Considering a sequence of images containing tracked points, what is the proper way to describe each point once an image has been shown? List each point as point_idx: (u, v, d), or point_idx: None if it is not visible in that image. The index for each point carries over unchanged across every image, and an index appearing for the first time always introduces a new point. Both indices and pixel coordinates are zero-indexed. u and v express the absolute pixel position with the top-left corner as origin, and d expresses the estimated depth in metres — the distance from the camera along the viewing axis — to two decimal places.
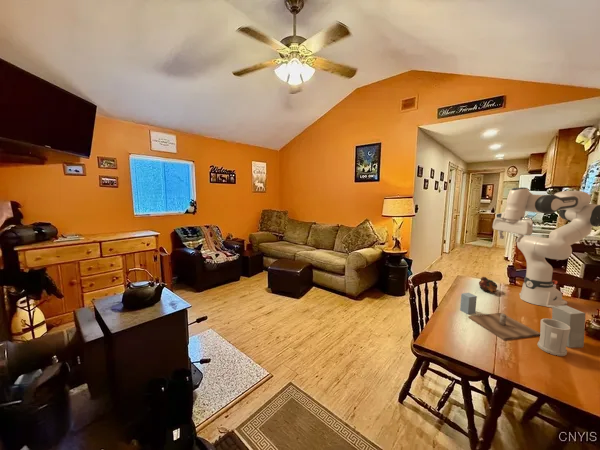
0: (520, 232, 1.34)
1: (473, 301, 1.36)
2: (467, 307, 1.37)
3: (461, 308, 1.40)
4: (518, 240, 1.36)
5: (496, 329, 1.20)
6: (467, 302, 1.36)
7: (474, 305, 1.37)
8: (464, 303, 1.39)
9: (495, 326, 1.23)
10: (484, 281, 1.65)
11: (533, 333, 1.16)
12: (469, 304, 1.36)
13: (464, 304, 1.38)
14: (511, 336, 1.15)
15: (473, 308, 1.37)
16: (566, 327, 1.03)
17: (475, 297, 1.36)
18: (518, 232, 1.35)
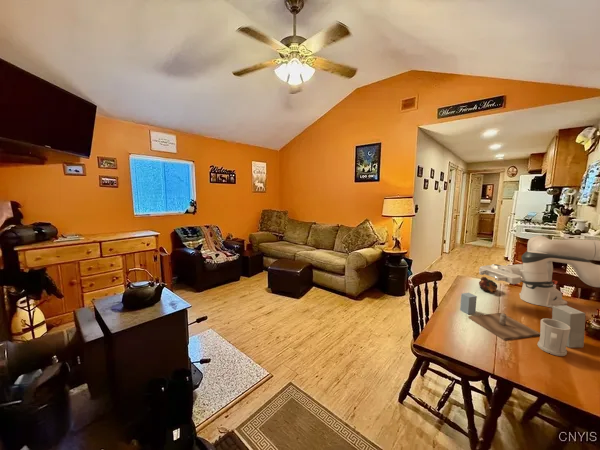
0: (508, 275, 1.34)
1: (473, 301, 1.36)
2: (467, 307, 1.37)
3: (461, 308, 1.40)
4: (499, 278, 1.34)
5: (496, 329, 1.20)
6: (467, 302, 1.36)
7: (474, 305, 1.37)
8: (464, 303, 1.39)
9: (495, 326, 1.23)
10: (484, 281, 1.65)
11: (533, 333, 1.16)
12: (469, 304, 1.36)
13: (464, 304, 1.38)
14: (511, 336, 1.15)
15: (473, 308, 1.37)
16: (566, 327, 1.03)
17: (475, 297, 1.36)
18: (506, 275, 1.35)
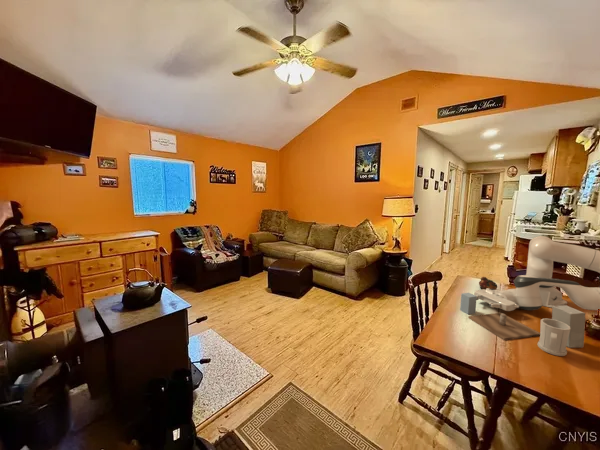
0: (503, 302, 1.34)
1: (473, 301, 1.36)
2: (467, 307, 1.37)
3: (461, 308, 1.40)
4: (493, 305, 1.35)
5: (496, 329, 1.20)
6: (467, 302, 1.36)
7: (474, 305, 1.37)
8: (464, 303, 1.39)
9: (495, 326, 1.23)
10: (484, 281, 1.65)
11: (533, 333, 1.16)
12: (469, 304, 1.36)
13: (464, 304, 1.38)
14: (511, 336, 1.15)
15: (473, 308, 1.37)
16: (566, 327, 1.03)
17: (475, 297, 1.36)
18: (500, 301, 1.35)
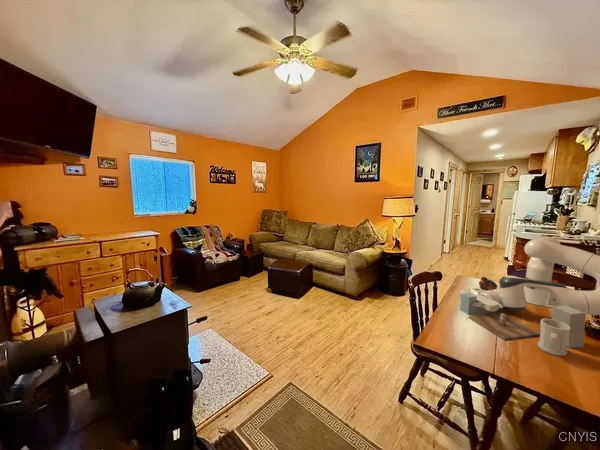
0: (487, 302, 1.33)
1: (473, 301, 1.36)
2: (467, 307, 1.37)
3: (461, 308, 1.40)
4: (475, 304, 1.35)
5: (496, 329, 1.20)
6: (467, 302, 1.36)
7: None
8: (464, 303, 1.39)
9: (495, 326, 1.23)
10: (484, 281, 1.65)
11: (533, 333, 1.16)
12: (469, 304, 1.36)
13: (464, 304, 1.38)
14: (511, 336, 1.15)
15: (473, 308, 1.37)
16: (566, 327, 1.03)
17: (475, 297, 1.36)
18: (485, 302, 1.34)
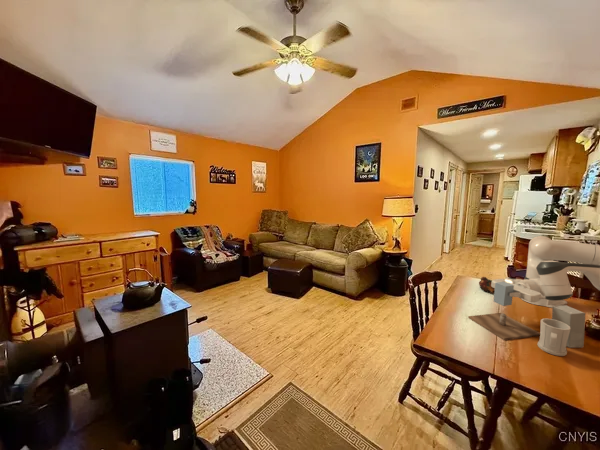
0: (526, 292, 1.17)
1: (510, 291, 1.20)
2: (503, 298, 1.21)
3: (495, 299, 1.24)
4: (512, 294, 1.19)
5: (496, 329, 1.20)
6: (503, 292, 1.20)
7: None
8: (498, 293, 1.22)
9: (495, 326, 1.23)
10: (484, 281, 1.65)
11: (533, 333, 1.16)
12: (505, 294, 1.20)
13: (499, 294, 1.22)
14: (511, 336, 1.15)
15: (509, 299, 1.21)
16: (566, 327, 1.03)
17: (512, 286, 1.20)
18: (524, 291, 1.18)
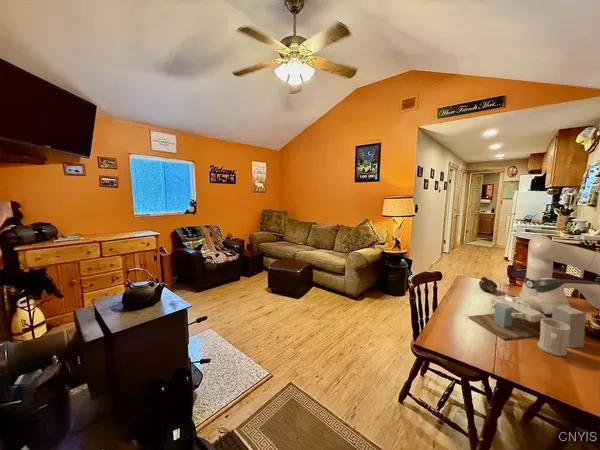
0: (526, 312, 1.18)
1: (509, 313, 1.21)
2: (503, 319, 1.22)
3: (495, 320, 1.25)
4: (515, 315, 1.18)
5: (496, 329, 1.20)
6: (503, 314, 1.21)
7: (510, 317, 1.22)
8: (498, 315, 1.23)
9: (495, 326, 1.23)
10: (484, 281, 1.65)
11: (533, 333, 1.16)
12: (505, 316, 1.21)
13: (499, 316, 1.23)
14: (511, 336, 1.15)
15: (509, 321, 1.22)
16: (566, 327, 1.03)
17: (512, 308, 1.21)
18: (524, 311, 1.19)
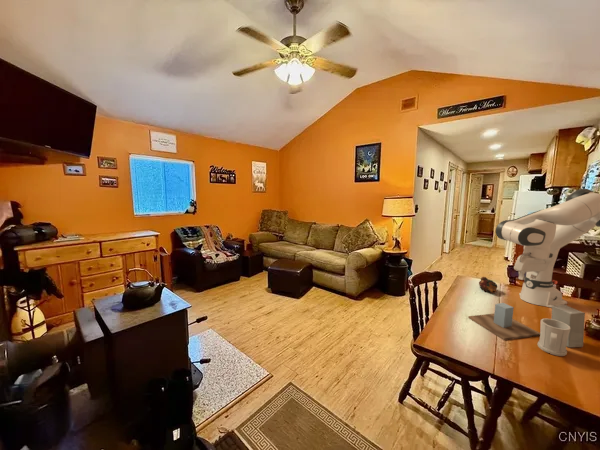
0: None
1: (509, 313, 1.21)
2: (503, 319, 1.22)
3: (495, 320, 1.25)
4: (520, 277, 1.22)
5: (496, 329, 1.20)
6: (503, 314, 1.21)
7: (510, 317, 1.22)
8: (498, 315, 1.23)
9: (495, 326, 1.23)
10: (484, 281, 1.65)
11: (533, 333, 1.16)
12: (505, 316, 1.21)
13: (499, 316, 1.23)
14: (511, 336, 1.15)
15: (509, 321, 1.22)
16: (566, 327, 1.03)
17: (512, 308, 1.21)
18: None
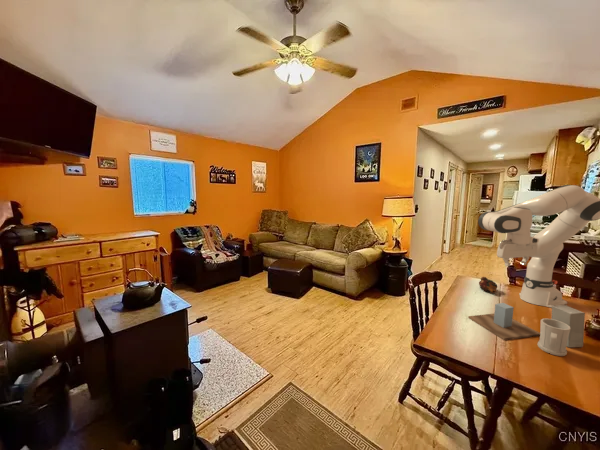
0: None
1: (509, 313, 1.21)
2: (503, 319, 1.22)
3: (495, 320, 1.25)
4: (505, 263, 1.27)
5: (496, 329, 1.20)
6: (503, 314, 1.21)
7: (510, 317, 1.22)
8: (498, 315, 1.23)
9: (495, 326, 1.23)
10: (484, 281, 1.65)
11: (533, 333, 1.16)
12: (505, 316, 1.21)
13: (499, 316, 1.23)
14: (511, 336, 1.15)
15: (509, 321, 1.22)
16: (566, 327, 1.03)
17: (512, 308, 1.21)
18: None
